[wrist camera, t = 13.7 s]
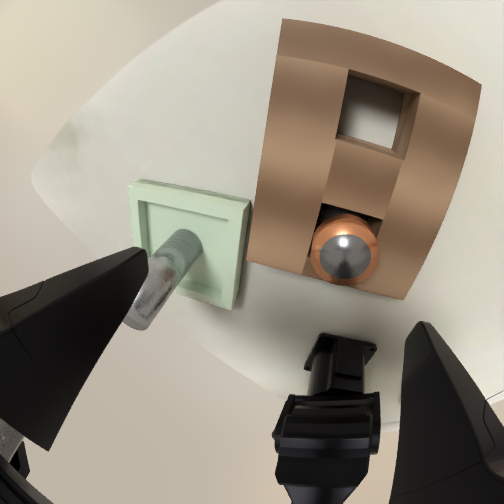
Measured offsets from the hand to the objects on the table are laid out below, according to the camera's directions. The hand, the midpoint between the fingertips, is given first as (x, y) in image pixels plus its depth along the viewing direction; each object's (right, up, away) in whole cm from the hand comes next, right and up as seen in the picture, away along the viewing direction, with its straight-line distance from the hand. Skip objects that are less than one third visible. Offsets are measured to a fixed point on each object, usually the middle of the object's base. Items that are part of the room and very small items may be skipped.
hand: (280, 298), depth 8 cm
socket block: (+6, +8, +9) cm, 13 cm away
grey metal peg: (-7, +2, +16) cm, 17 cm away
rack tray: (-6, +2, +16) cm, 18 cm away
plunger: (+6, +4, +11) cm, 13 cm away
